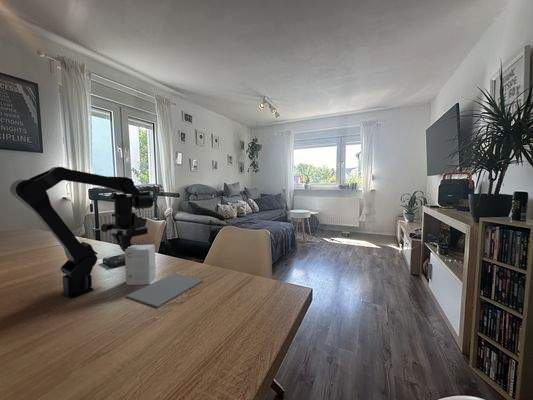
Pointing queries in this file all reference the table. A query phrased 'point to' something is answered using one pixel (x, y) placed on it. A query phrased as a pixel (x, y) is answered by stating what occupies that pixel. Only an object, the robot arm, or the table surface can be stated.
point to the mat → (164, 290)
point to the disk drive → (114, 261)
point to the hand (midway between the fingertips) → (124, 251)
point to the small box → (140, 264)
